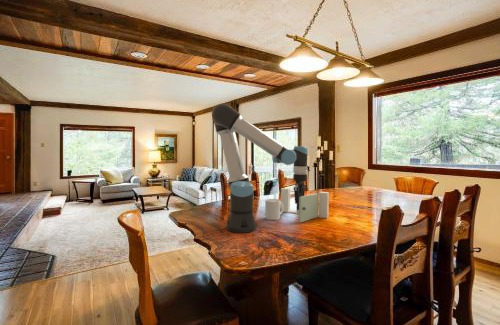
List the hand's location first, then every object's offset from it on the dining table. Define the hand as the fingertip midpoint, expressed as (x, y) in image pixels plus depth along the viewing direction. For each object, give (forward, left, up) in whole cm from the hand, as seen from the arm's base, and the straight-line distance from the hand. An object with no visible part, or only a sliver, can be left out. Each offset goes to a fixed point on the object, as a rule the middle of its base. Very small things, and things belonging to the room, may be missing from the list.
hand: (299, 215), depth 151 cm
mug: (-14, -2, -4) cm, 15 cm away
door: (+5, +5, -3) cm, 8 cm away
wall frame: (-3, +16, -3) cm, 17 cm away
